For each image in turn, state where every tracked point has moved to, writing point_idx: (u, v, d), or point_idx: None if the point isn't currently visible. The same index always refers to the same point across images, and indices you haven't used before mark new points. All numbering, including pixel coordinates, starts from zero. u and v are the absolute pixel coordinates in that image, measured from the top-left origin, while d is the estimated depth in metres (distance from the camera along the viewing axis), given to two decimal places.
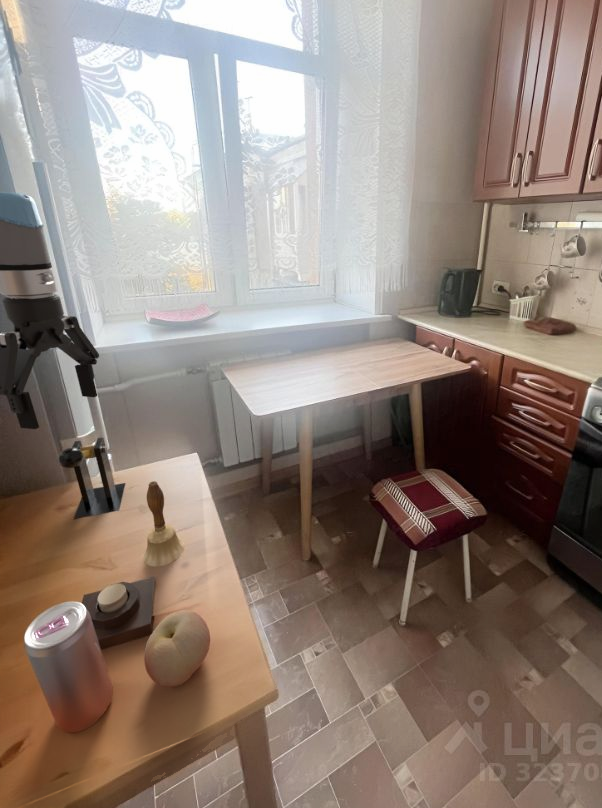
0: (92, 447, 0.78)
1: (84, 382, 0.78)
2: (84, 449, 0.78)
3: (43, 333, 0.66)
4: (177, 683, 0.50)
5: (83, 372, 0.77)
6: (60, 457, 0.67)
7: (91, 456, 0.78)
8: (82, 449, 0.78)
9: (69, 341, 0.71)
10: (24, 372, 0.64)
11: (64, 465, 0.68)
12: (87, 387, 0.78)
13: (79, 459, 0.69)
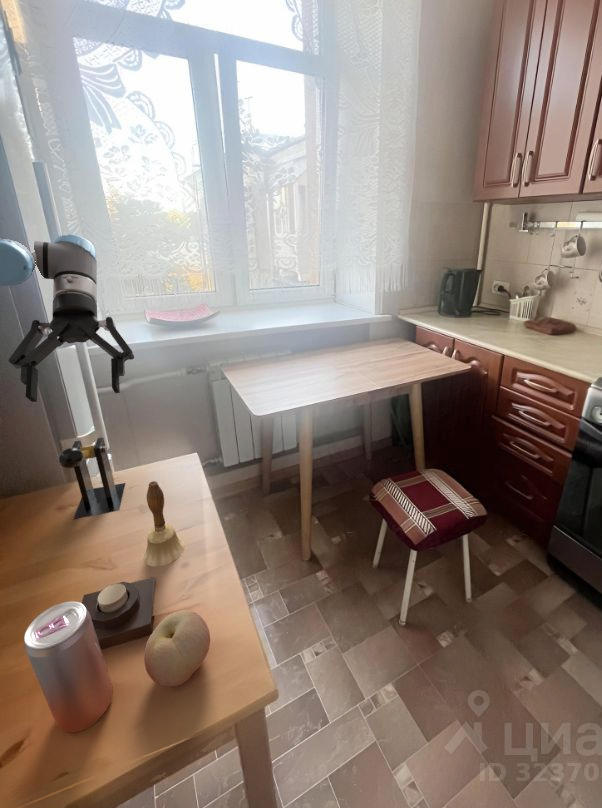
0: (92, 447, 0.78)
1: None
2: (84, 449, 0.78)
3: (62, 321, 0.78)
4: (177, 683, 0.50)
5: None
6: (60, 457, 0.67)
7: (91, 456, 0.78)
8: (82, 449, 0.78)
9: (92, 332, 0.79)
10: (35, 349, 0.75)
11: (64, 465, 0.68)
12: None
13: (79, 459, 0.69)
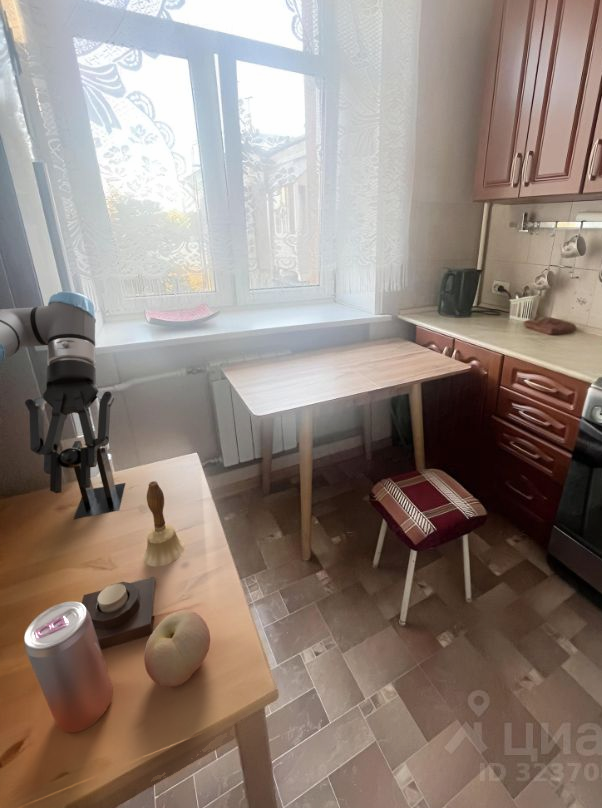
0: None
1: None
2: None
3: (56, 393, 0.71)
4: (177, 683, 0.50)
5: None
6: (60, 457, 0.67)
7: None
8: None
9: (81, 408, 0.71)
10: (49, 432, 0.69)
11: (64, 465, 0.68)
12: None
13: (79, 459, 0.69)
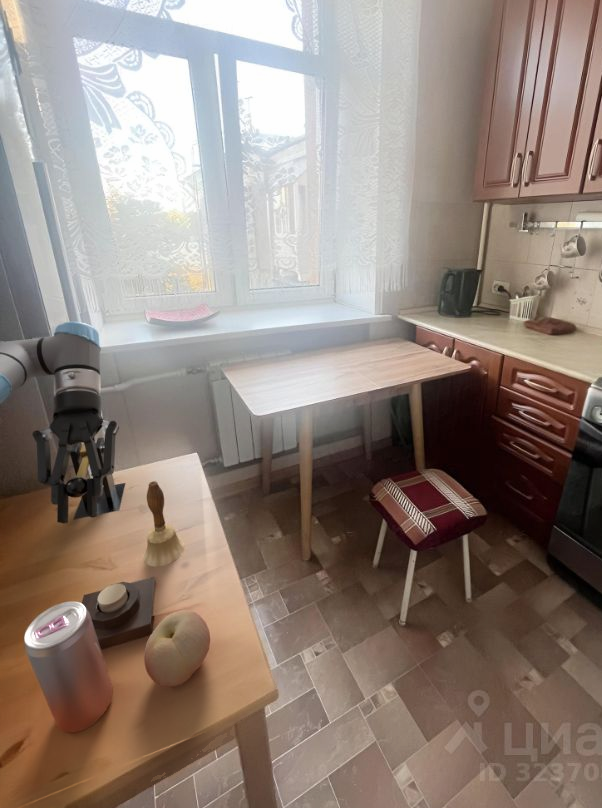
0: None
1: None
2: (84, 453, 0.78)
3: (63, 424, 0.72)
4: (177, 683, 0.50)
5: None
6: (67, 491, 0.69)
7: None
8: (82, 453, 0.77)
9: (87, 438, 0.72)
10: (56, 463, 0.70)
11: None
12: None
13: (86, 490, 0.70)
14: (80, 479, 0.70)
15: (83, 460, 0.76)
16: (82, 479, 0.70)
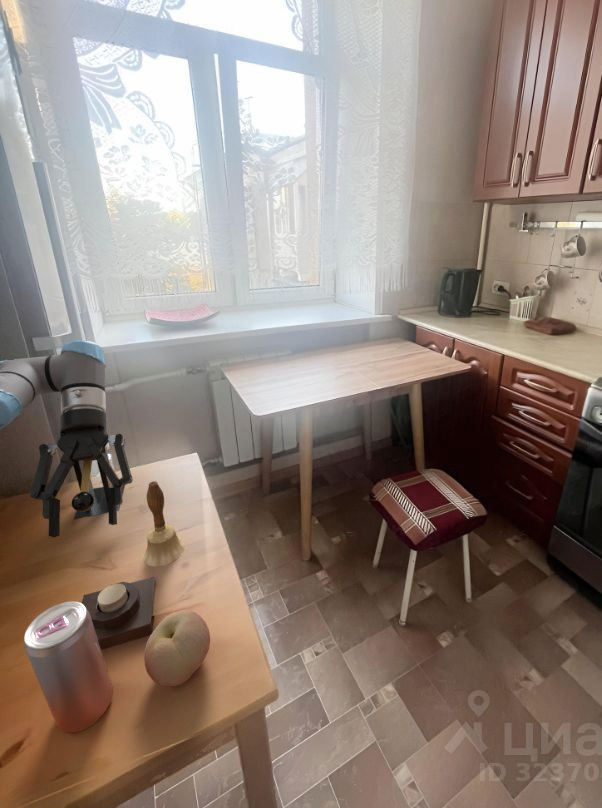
0: None
1: None
2: None
3: (70, 441, 0.75)
4: (177, 683, 0.50)
5: None
6: (74, 508, 0.71)
7: (93, 459, 0.79)
8: None
9: (97, 453, 0.75)
10: (52, 478, 0.72)
11: None
12: None
13: None
14: (86, 496, 0.72)
15: (85, 465, 0.77)
16: (88, 496, 0.72)
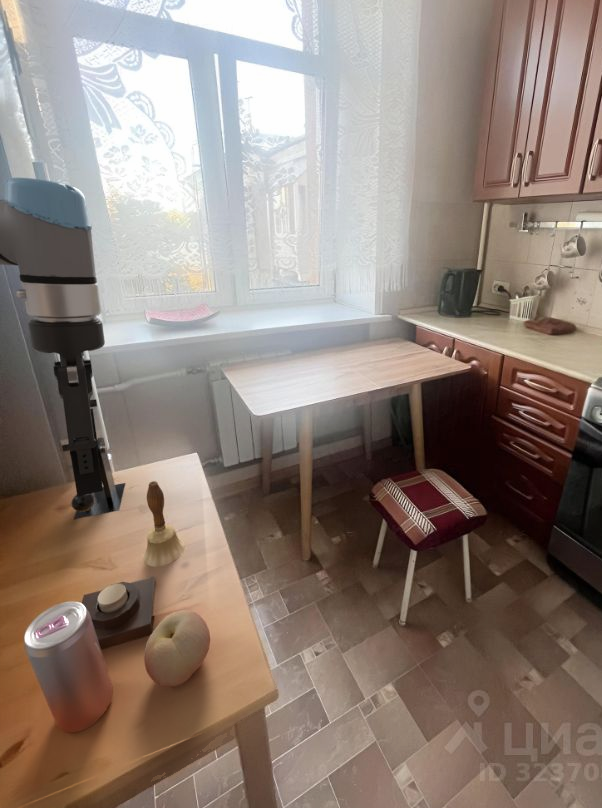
0: None
1: None
2: None
3: None
4: (177, 683, 0.50)
5: None
6: (74, 508, 0.71)
7: None
8: None
9: (59, 393, 0.48)
10: None
11: None
12: None
13: None
14: (86, 496, 0.72)
15: None
16: (88, 496, 0.72)
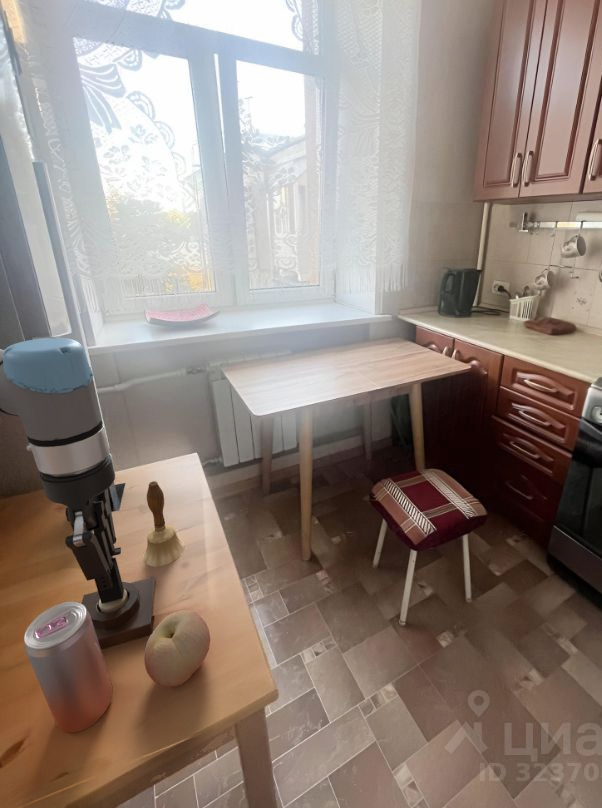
0: None
1: None
2: None
3: None
4: (177, 683, 0.50)
5: None
6: None
7: None
8: None
9: None
10: None
11: None
12: None
13: None
14: None
15: None
16: None
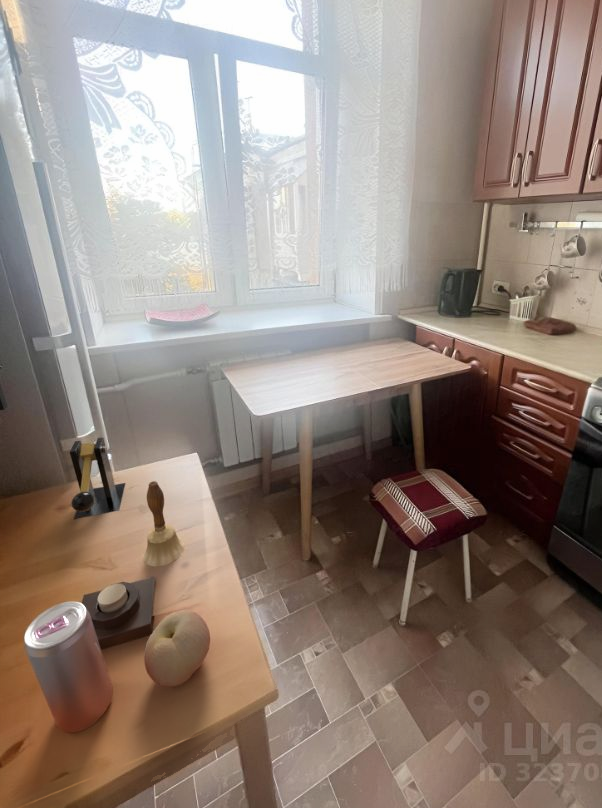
0: (92, 454, 0.78)
1: None
2: (85, 456, 0.78)
3: None
4: (177, 683, 0.50)
5: None
6: (74, 508, 0.71)
7: (93, 459, 0.79)
8: (83, 456, 0.78)
9: None
10: None
11: None
12: None
13: None
14: (86, 496, 0.72)
15: (85, 465, 0.77)
16: (88, 496, 0.72)
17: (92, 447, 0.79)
